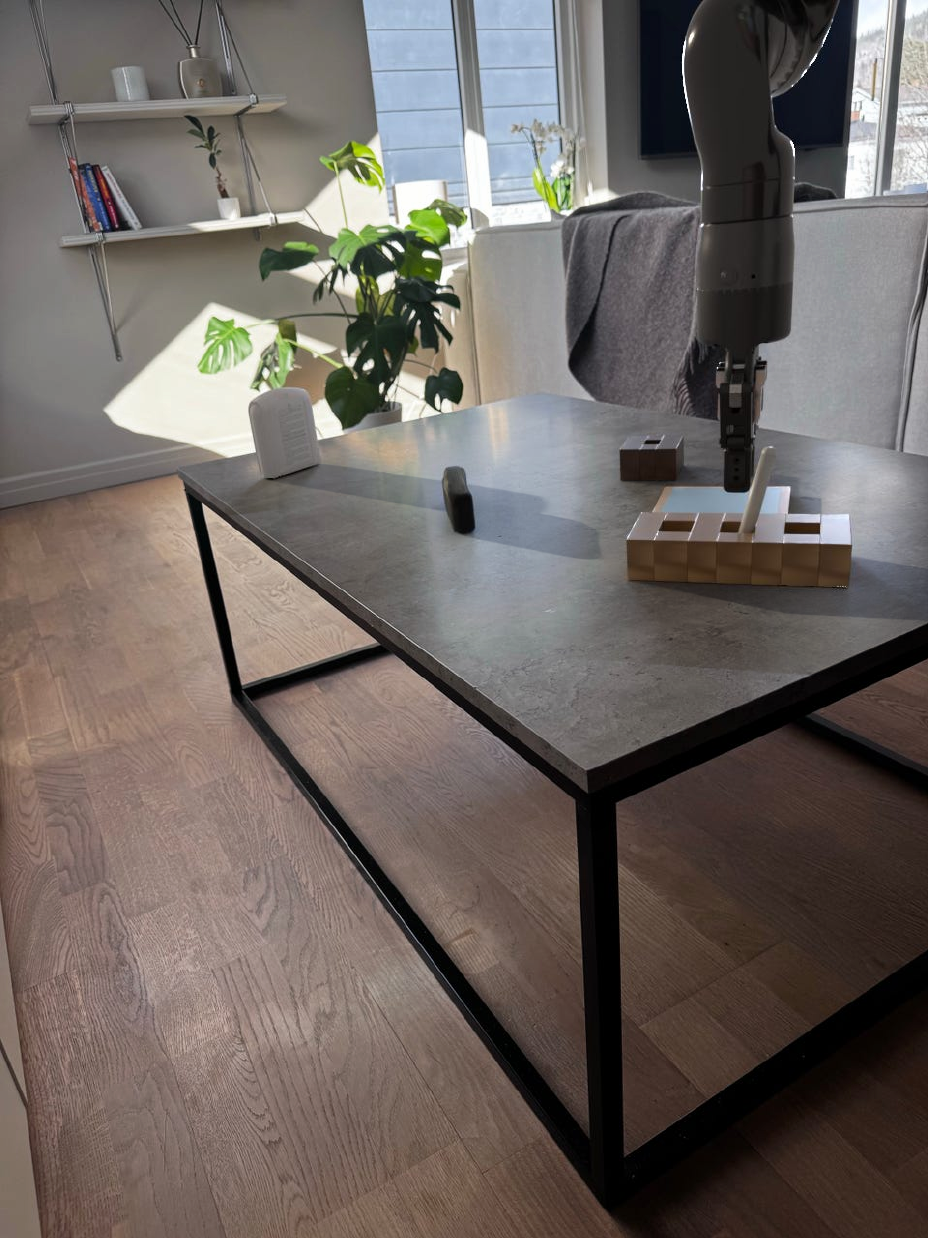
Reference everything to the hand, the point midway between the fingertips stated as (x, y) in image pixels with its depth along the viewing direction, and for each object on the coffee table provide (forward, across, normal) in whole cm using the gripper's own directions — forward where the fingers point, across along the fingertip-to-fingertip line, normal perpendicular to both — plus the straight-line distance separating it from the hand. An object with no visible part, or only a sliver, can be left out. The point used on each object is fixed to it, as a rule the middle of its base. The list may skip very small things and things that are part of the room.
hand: (739, 483), depth 79 cm
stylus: (+8, 0, 0) cm, 8 cm away
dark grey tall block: (+8, +14, +33) cm, 37 cm away
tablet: (+8, +14, +3) cm, 16 cm away
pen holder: (+8, 0, 0) cm, 8 cm away
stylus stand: (+8, +32, +13) cm, 35 cm away
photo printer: (+8, +34, +68) cm, 76 cm away
